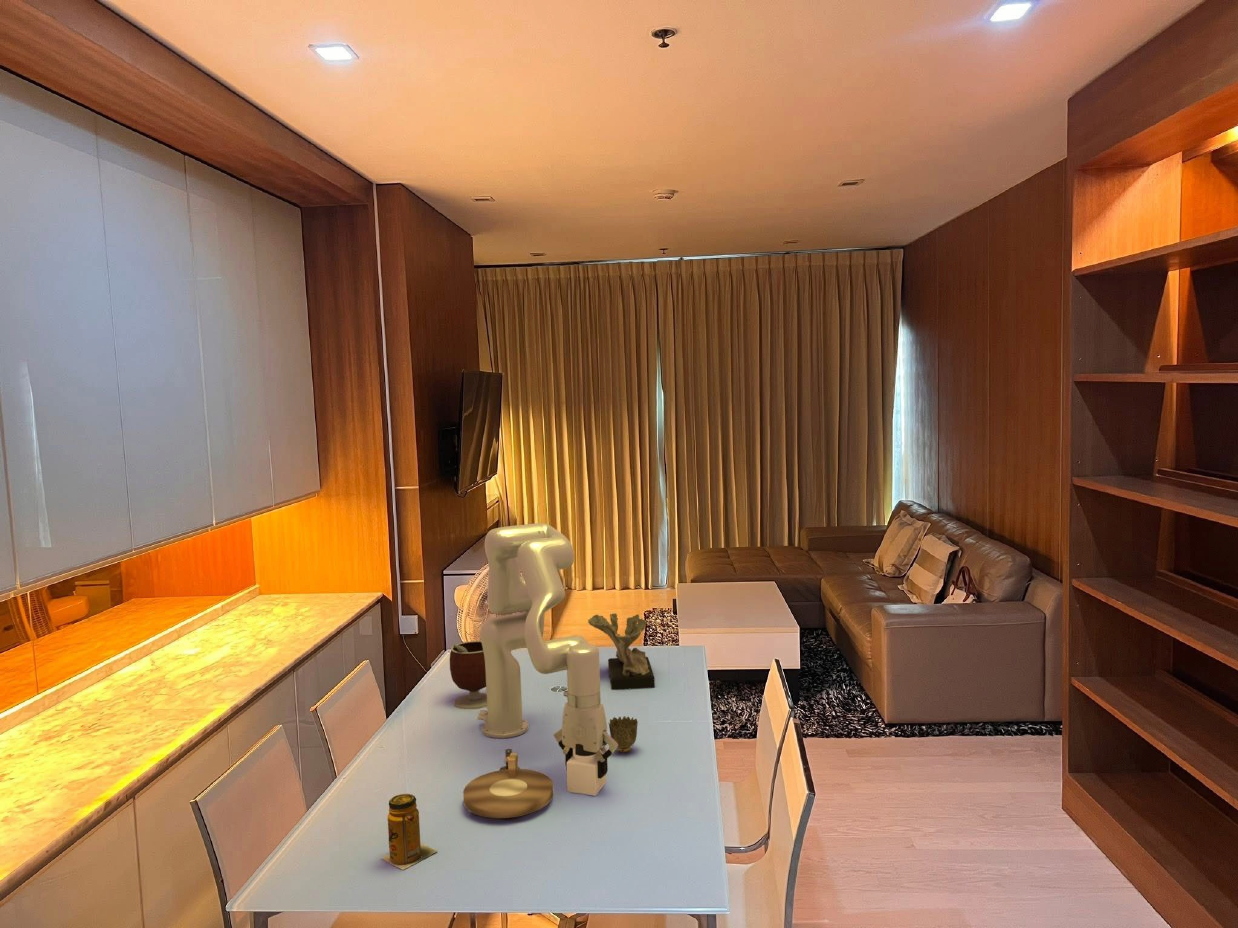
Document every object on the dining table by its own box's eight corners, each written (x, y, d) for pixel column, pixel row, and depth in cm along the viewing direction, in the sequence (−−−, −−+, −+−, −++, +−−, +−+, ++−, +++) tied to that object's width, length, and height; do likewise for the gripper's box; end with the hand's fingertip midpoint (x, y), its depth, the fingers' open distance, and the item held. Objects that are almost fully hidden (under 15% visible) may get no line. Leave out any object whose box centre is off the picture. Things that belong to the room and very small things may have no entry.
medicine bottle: (606, 782, 197) (605, 732, 196) (596, 796, 190) (594, 744, 189) (578, 778, 199) (577, 729, 198) (566, 792, 192) (565, 741, 191)
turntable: (548, 817, 178) (547, 789, 178) (454, 818, 179) (453, 791, 179) (557, 775, 198) (556, 751, 198) (473, 777, 199) (472, 753, 198)
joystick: (499, 769, 206) (498, 746, 206) (519, 767, 207) (518, 744, 206) (498, 781, 199) (497, 758, 199) (519, 780, 200) (518, 756, 199)
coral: (655, 691, 259) (653, 623, 257) (589, 694, 258) (587, 626, 257) (650, 667, 284) (648, 604, 282) (590, 669, 283) (588, 606, 282)
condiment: (380, 858, 166) (377, 800, 166) (416, 841, 173) (413, 784, 172) (402, 870, 162) (399, 810, 161) (438, 852, 168) (435, 794, 167)
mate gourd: (469, 691, 264) (466, 629, 263) (506, 697, 258) (503, 633, 257) (438, 708, 251) (435, 642, 249) (476, 714, 244) (473, 647, 243)
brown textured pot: (635, 758, 210) (634, 727, 209) (606, 756, 212) (605, 725, 211) (640, 746, 217) (639, 716, 217) (613, 744, 219) (612, 715, 218)
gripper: (543, 698, 194) (546, 772, 195) (609, 709, 185) (611, 786, 187) (560, 688, 200) (563, 759, 202) (625, 698, 192) (627, 772, 193)
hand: (586, 772), depth 194 cm, fingers closed on medicine bottle, 7 cm apart
